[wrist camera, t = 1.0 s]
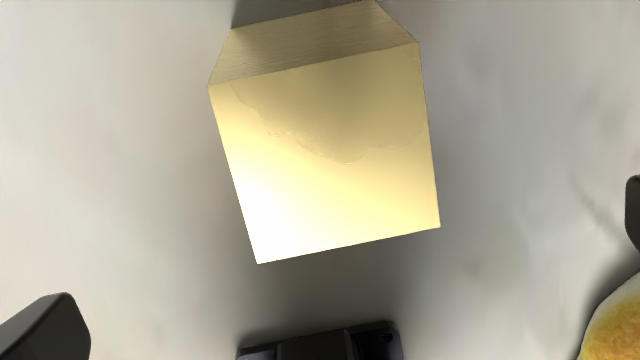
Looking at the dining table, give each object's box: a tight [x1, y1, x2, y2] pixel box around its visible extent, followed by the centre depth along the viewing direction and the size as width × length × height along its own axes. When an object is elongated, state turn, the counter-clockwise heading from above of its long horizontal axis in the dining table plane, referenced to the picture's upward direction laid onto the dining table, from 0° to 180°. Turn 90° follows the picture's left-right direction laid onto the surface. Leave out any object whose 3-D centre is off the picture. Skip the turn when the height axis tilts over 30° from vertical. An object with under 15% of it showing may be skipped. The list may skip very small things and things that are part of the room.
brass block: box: [207, 0, 440, 264], centre depth 16 cm, size 4×4×6 cm
